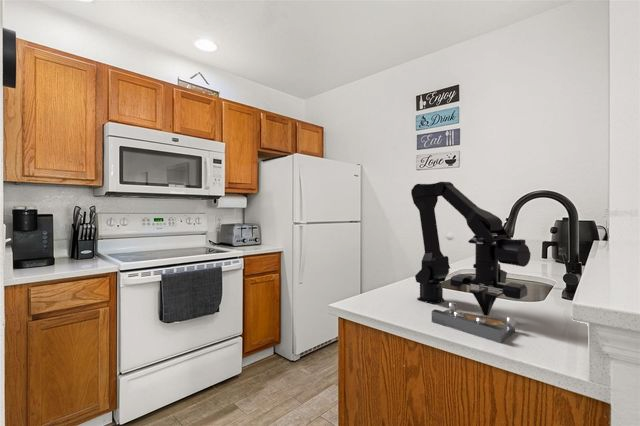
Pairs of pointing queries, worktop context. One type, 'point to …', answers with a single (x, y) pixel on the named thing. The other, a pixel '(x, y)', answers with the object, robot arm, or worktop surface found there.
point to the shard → (487, 319)
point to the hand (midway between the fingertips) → (486, 315)
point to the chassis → (473, 324)
